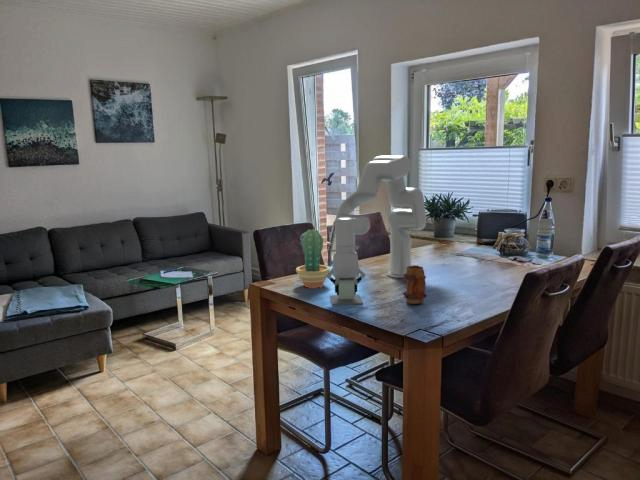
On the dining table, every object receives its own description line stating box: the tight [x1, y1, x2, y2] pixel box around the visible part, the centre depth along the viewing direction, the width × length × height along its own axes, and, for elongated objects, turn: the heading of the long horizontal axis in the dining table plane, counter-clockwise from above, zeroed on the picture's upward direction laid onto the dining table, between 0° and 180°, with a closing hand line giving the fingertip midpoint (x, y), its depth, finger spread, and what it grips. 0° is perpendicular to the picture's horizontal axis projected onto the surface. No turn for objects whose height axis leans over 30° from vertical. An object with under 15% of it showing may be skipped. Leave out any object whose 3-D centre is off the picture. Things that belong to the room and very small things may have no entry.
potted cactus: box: [295, 228, 331, 289], centre depth 220 cm, size 16×15×25 cm
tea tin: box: [338, 278, 355, 299], centre depth 197 cm, size 6×6×7 cm
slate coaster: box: [329, 294, 364, 306], centre depth 198 cm, size 12×12×1 cm
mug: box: [402, 265, 428, 305], centre depth 189 cm, size 15×8×15 cm, turn 5°
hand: (346, 293), depth 198 cm, fingers closed on tea tin, 6 cm apart
